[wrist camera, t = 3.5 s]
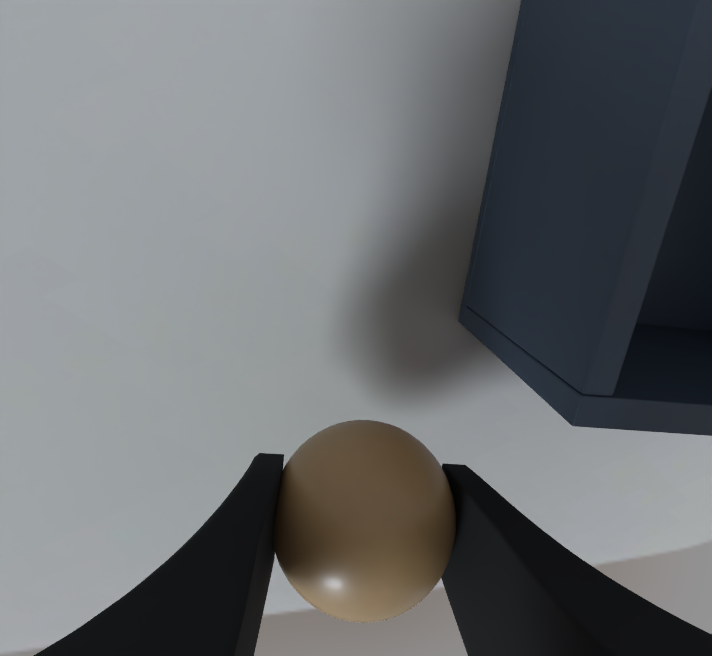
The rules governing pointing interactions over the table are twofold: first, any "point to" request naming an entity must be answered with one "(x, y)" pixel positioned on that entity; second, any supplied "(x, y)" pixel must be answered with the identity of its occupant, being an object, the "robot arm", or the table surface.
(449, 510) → the brown ball
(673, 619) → the robot arm
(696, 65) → the bin
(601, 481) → the table surface
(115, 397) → the table surface
